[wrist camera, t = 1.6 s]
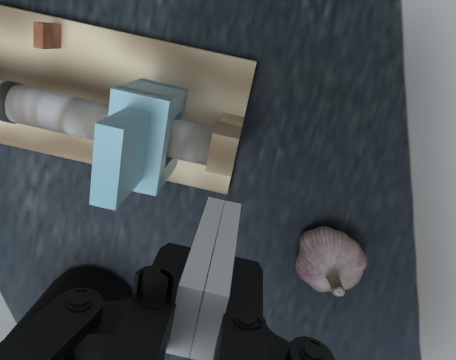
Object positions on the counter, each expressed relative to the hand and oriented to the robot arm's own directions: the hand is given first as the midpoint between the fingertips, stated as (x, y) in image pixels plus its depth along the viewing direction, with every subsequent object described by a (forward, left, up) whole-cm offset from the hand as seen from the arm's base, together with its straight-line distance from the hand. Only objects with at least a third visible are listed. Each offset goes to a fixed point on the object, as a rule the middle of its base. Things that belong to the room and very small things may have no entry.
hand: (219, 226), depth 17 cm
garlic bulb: (-11, -12, -21) cm, 26 cm away
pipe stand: (0, +13, -20) cm, 24 cm away
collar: (0, +7, -16) cm, 17 cm away
